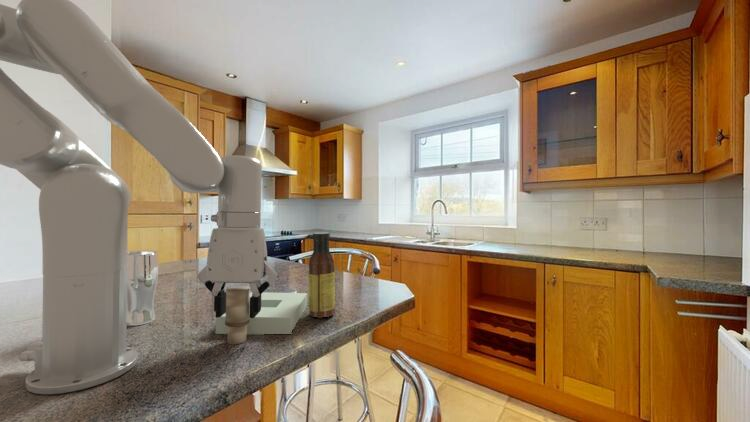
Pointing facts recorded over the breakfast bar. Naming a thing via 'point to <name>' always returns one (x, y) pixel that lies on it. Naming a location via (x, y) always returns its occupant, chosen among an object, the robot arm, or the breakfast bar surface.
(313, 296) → the sauce bottle
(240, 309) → the peg
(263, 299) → the seat board
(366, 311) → the breakfast bar surface
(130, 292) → the beer glass
